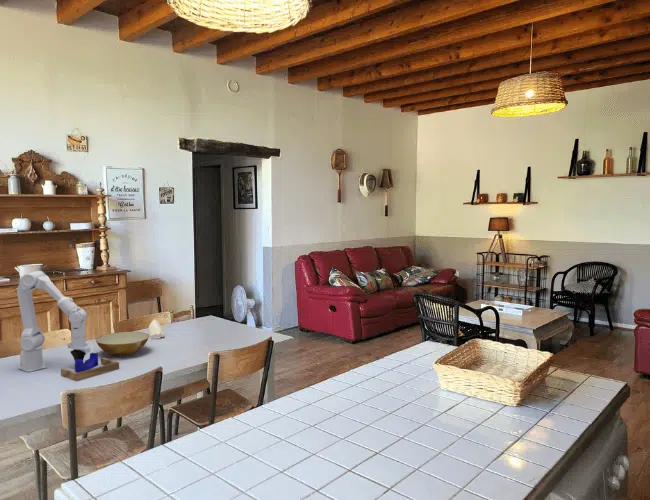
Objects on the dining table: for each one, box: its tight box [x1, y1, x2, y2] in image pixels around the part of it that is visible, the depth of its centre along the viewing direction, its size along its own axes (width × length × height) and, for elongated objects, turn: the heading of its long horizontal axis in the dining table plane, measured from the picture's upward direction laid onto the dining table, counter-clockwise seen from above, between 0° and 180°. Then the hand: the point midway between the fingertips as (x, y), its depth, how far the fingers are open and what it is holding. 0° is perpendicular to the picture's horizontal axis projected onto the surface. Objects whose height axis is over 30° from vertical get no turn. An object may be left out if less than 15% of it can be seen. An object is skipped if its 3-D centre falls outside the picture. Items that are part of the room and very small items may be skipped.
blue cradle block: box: [74, 352, 99, 373], centre depth 220 cm, size 12×4×6 cm, turn 171°
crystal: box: [148, 318, 165, 339], centre depth 283 cm, size 7×7×24 cm
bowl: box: [95, 331, 150, 357], centre depth 245 cm, size 25×25×8 cm
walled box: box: [60, 357, 120, 382], centre depth 216 cm, size 12×20×3 cm, turn 147°
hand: (79, 365), depth 221 cm, fingers closed
